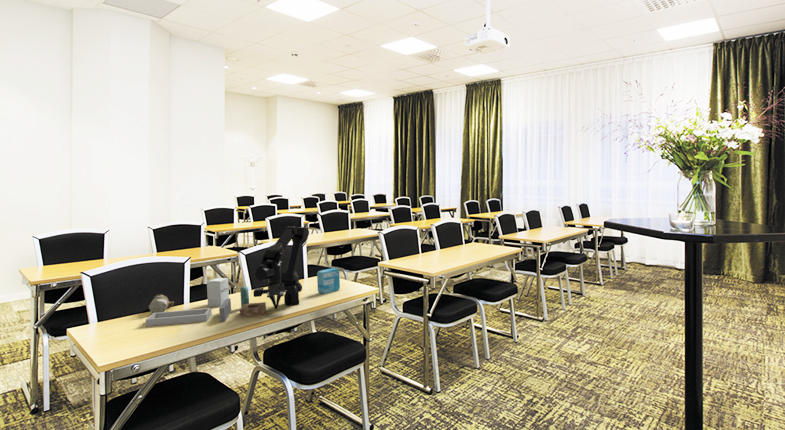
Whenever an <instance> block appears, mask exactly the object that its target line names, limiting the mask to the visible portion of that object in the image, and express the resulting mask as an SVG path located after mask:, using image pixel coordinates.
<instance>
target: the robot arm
mask: <svg viewBox="0 0 785 430" xmlns="http://www.w3.org/2000/svg"><path fill="white" fill-rule="evenodd" d="M309 235H310V230H309V229H308V227H306V226H299V227H298V226H286V227H285V229H284V231H283V233H282V234H281V235H280V236H279V238H278V240H276V242H275V243H274V244H272V245H270V246H269V247H267V249H266V250H265V251H264V254H263V257H262V259H261V262H260V265H258V268H257V269H255V270H256V271H255V273H254V275H255V277H256V279H257V280H258V281H260V282H261V281H265V280H268V285H267V289H264V287H256V288H254V289H253V297H255V298H257V297H258V298H259V297H262V296H263V295H266V298H269V299H270V300H271V302H272V305H273V307H274V310H275V311H276V310H278V309H279V308H278V307H279V305H280V304H279V303H280V301H281V299H282V297H283V298H284V304H285V306H295V305H299V304H300V297H299V296H300V295H299V294H300V292H301V291H302V290H303V285H302V283H301V282H300V281H299V280H300V278H299V275H298V269H299V264H300V259H301V256H302V255H301V254H302V251H303V245H304V244H305V243H306V242H307V241H308V238H309ZM291 241H292V246H291V250H290V255H289V259H288V263H287V269H286V271H285V272H282V268H281V266H282V265H283V264H284V263H283V261H282V260H283V257H284V255H285V249H286V247H287V246H288V245H289V244H290V242H291Z"/></svg>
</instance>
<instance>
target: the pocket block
mask: <svg viewBox="0 0 785 430" xmlns="http://www.w3.org/2000/svg"><path fill="white" fill-rule="evenodd" d="M266 305H267V302H266V301H264V302H263V301H262V302H254V303H253V302H252V303H250V302H249V304H243V306H242V307H241V306H240V310H239V313H240V319H247V318H248V319H249V318H260V317H265V315H266V312H267V307H266Z"/></svg>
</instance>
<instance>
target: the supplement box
mask: <svg viewBox="0 0 785 430" xmlns="http://www.w3.org/2000/svg"><path fill="white" fill-rule="evenodd" d="M206 290H207V292H206V294H207V295H206V296H207V307H219V308H220V307H221V305H222V304H223V302H224V301H225V299H230V292H229V278H228V277H227V278H226V277H221V278H220V277H216V278H213V279H210V280H207V281H206Z"/></svg>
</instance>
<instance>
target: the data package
mask: <svg viewBox="0 0 785 430" xmlns="http://www.w3.org/2000/svg"><path fill="white" fill-rule="evenodd" d="M316 278H317V279H316V281H317V292H318V293H319V294H323V295H326V294H330V293H333V292H338V291H339V290H340V288H341V287H340V286H341V284H340V280H341V279H340V269H338V268H333V267H331V268H326V269H321V270H318V271H317V273H316ZM337 290H338V291H337Z"/></svg>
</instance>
